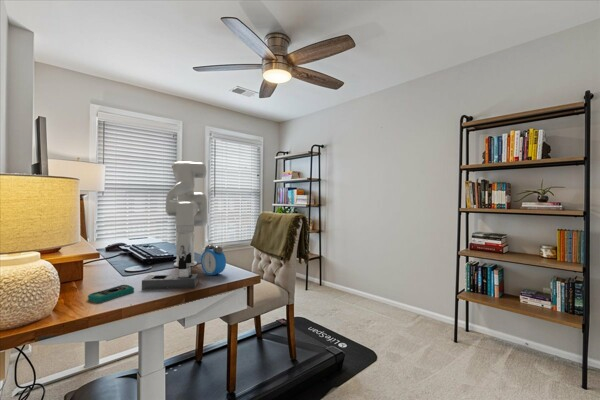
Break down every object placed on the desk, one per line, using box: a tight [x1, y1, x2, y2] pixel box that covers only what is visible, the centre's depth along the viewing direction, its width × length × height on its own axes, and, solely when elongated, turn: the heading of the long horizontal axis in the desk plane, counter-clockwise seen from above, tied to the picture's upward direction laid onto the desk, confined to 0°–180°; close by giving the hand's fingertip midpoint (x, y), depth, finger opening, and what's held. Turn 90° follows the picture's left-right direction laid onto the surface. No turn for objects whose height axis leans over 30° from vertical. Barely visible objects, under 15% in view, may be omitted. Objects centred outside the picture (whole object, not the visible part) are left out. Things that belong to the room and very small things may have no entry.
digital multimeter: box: [87, 284, 135, 304], centre depth 117 cm, size 7×15×3 cm, turn 155°
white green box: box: [178, 266, 192, 278], centre depth 131 cm, size 4×4×7 cm
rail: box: [141, 273, 199, 290], centre depth 130 cm, size 8×22×4 cm, turn 98°
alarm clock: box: [200, 244, 227, 277], centre depth 149 cm, size 13×6×15 cm, turn 56°
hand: (185, 265), depth 132 cm, fingers open, 9 cm apart
